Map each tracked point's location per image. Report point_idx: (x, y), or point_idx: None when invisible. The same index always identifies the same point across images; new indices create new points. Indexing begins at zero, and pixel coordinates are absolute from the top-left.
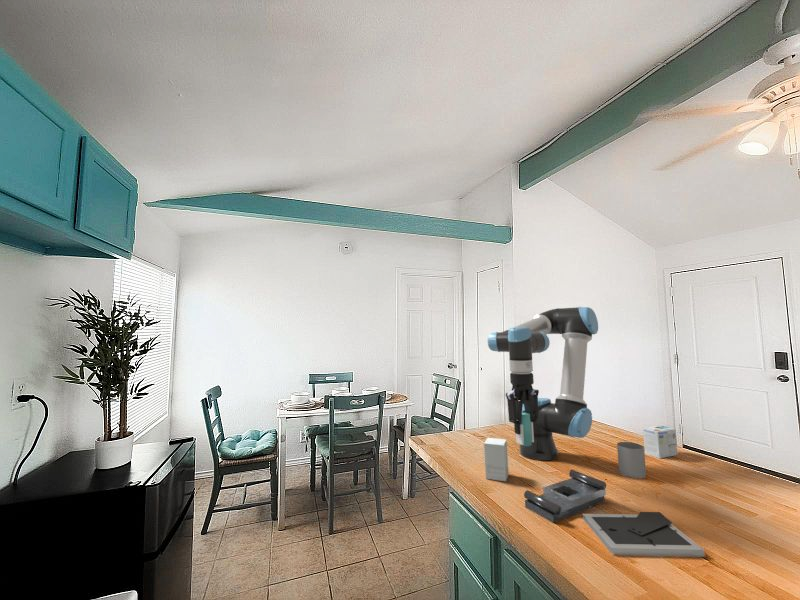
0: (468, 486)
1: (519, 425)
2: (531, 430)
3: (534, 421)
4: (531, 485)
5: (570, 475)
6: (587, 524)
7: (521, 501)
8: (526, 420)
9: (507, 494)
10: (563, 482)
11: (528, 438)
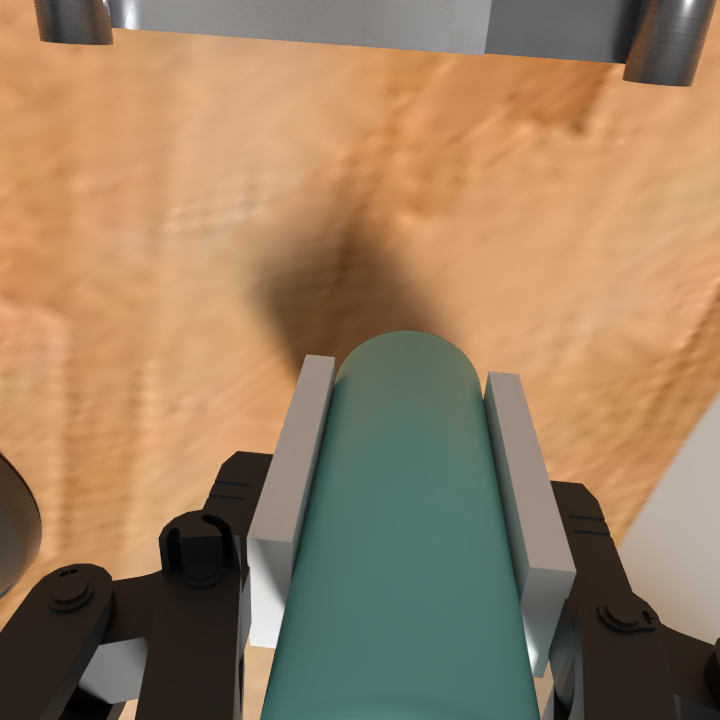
0: (666, 464)
1: (578, 586)
2: (312, 453)
3: (230, 528)
4: (336, 258)
5: (111, 31)
6: None
7: (605, 143)
8: (471, 600)
9: (582, 265)
10: (248, 12)
11: (432, 382)
